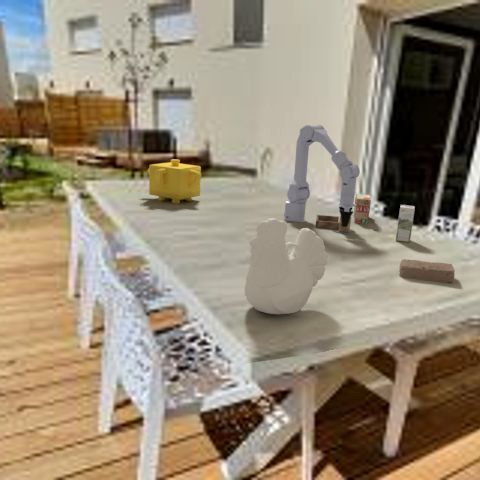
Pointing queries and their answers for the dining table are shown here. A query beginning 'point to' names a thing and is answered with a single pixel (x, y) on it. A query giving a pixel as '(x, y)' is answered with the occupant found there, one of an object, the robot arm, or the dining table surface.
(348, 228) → the oak block
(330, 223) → the crate
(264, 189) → the dining table surface
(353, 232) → the slate coaster
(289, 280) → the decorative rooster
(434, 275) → the brick
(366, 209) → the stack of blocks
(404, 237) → the syrup box
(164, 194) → the cube teapot
